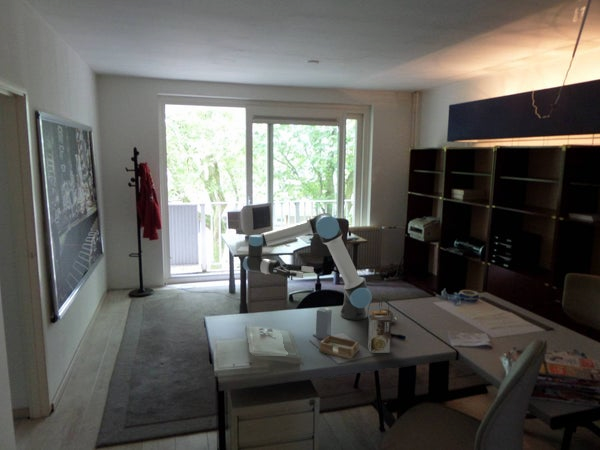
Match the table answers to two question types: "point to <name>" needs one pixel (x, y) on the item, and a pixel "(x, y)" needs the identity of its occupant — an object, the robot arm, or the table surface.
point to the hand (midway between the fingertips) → (308, 272)
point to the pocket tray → (339, 346)
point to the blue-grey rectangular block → (323, 323)
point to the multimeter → (378, 313)
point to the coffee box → (379, 334)
